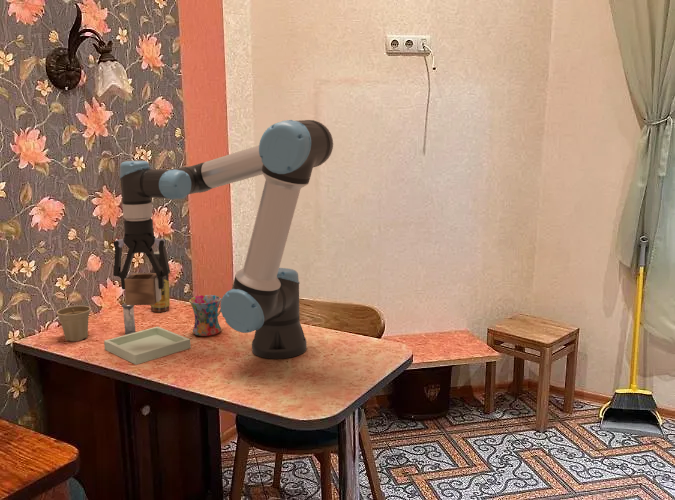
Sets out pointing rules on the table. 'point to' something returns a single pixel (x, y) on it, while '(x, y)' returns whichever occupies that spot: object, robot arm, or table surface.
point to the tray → (147, 345)
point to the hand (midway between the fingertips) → (143, 300)
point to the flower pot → (74, 322)
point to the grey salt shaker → (129, 318)
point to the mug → (206, 314)
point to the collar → (140, 289)
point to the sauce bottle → (162, 291)
